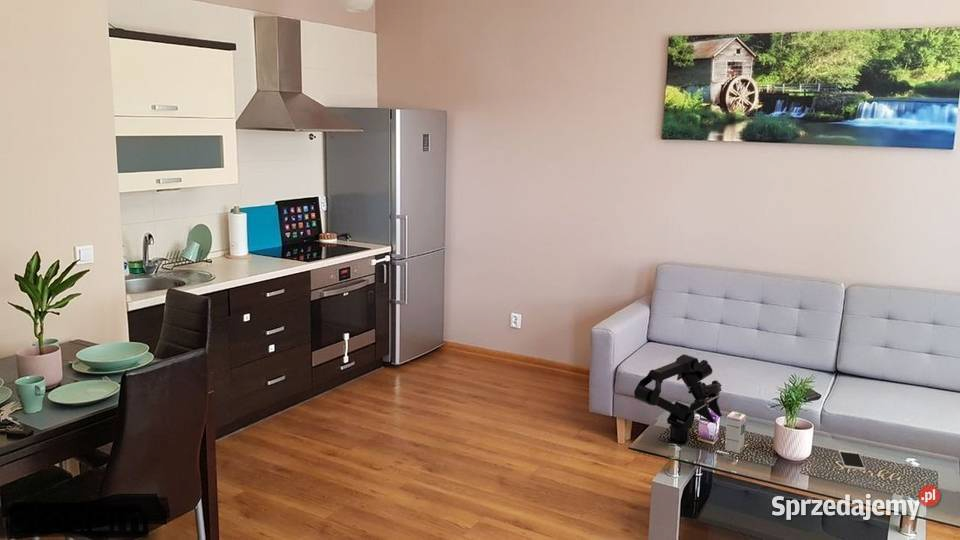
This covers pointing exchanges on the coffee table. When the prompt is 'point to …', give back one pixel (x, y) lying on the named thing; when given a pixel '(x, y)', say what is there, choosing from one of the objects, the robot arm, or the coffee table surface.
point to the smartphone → (851, 460)
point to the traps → (727, 457)
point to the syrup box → (735, 432)
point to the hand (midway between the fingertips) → (717, 419)
